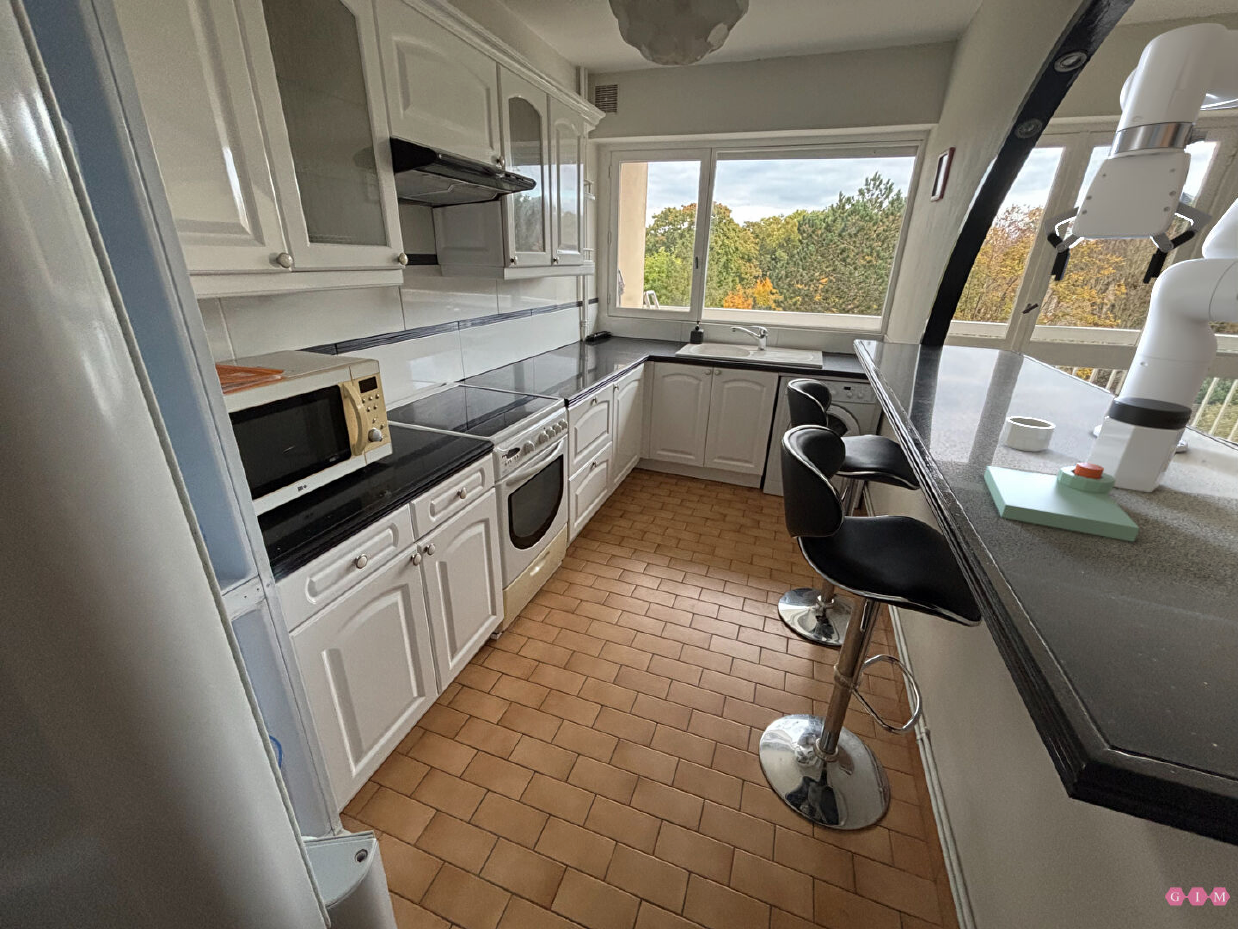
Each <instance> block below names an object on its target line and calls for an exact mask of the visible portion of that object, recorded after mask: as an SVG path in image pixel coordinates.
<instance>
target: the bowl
mask: <svg viewBox="0 0 1238 929" xmlns="http://www.w3.org/2000/svg"><path fill="white" fill-rule="evenodd" d="M1055 429H1056V425H1055V424H1054V423H1052V422H1049V421H1046V420H1043V419H1038V418H1032V417H1025V416H1009V417H1007V418H1006V419H1005V422H1004V425H1003V429H1002V432H1001V435H1000V438H999V440H1000V442H1002V443H1003V444H1004V445H1005V446H1006V447H1008V448H1011V449H1015V450H1019V451H1024V452H1032V453H1033V452H1037V453H1038V452H1042V451H1044V450H1047V449H1048V448H1049V446H1050V443H1051V440H1052V438H1053V435H1054V431H1055Z"/></svg>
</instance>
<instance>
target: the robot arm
mask: <svg viewBox="0 0 1238 929" xmlns="http://www.w3.org/2000/svg"><path fill="white" fill-rule="evenodd" d="M1119 104H1120V109H1121V111H1122V113H1121V116H1120V118H1119V122H1118V125H1117V127H1116V131H1115V134H1114V137H1113V139H1112V143H1111V146H1110V149H1109V152H1108V154H1107V158H1105V159H1103V160H1100V161H1099V163H1098V165H1097V167H1096V169H1095V170H1094V172H1093V175H1092V177H1091V179H1090V181H1089V183H1088V184H1087V187H1086V189H1085V192H1084V194H1083V196H1082V199H1081V202H1080V204H1079V206H1075V207H1074V208H1071V209H1069V210H1067V211H1064V212H1062V213H1059V214H1057V215H1054V216H1053V217H1051V218H1048V219H1046V220H1044V221H1043V223H1042V226H1043V229H1044V233H1045V235H1046V236H1045V237H1046V240H1047V241H1048V243H1049V244H1050V245H1051V246H1052V247H1053V249H1055V251H1056V252H1057V253H1056V256H1055V259H1054V263H1053V266H1052V268H1051V272H1050V276H1054V280H1053V282H1061V281H1063V279H1064V276H1065V274H1066V270H1067V267H1068V265H1069V262H1070V258H1071V255H1072V254H1071V253H1070V251H1071V248H1073V247H1074V246H1075V245H1077V244H1079V243H1080V242H1081V241H1082V240H1084V239H1085V240H1134V239H1135V240H1137V239H1140V240H1142V239H1151V240H1152V241H1153V243H1154V244H1155V245H1156V247H1157V248H1156V251H1155V252H1154V253H1153V254H1152V256H1151V258H1150V261H1149V264H1148V266H1147V269H1146V272H1145V274H1144V277H1143V278H1142V282H1141V283H1143V285H1149V284H1150V282H1151V279H1156V281H1155V283H1154V285H1153V288H1152V292H1151V298H1150V304H1149V311H1148V315H1147V319H1146V324H1145V326H1144V331H1143V332H1142V336H1141V338H1140V341H1139V344H1138V347H1137V348H1136V352H1135V355H1134V357H1133V359H1132V362H1131V365H1130V366H1129V370H1128V372H1127V375H1126V377H1125V379H1124V383H1123V385H1122V387H1121V390H1120V392H1119V395H1118V397H1117V398H1120V397H1133V398H1145V399H1153V400H1160V401H1165V402H1171V403H1175V404H1179V405H1183V406H1186V407H1188V408H1190V409H1192V408H1193V407H1194V406H1193V405H1194V404H1195V402H1196V399H1197V397H1198V394H1199V392H1200V390H1201V388H1202V386H1203V384H1204V381H1205V379H1206V378H1207V375H1208V373H1209V371H1210V369H1211V366H1212V364H1213V362H1214V360H1215V358H1216V356H1217V352H1218V346H1219V345H1218V340H1217V337H1216V335H1215V333H1214V330H1213V328H1212V327H1211V324H1210V322H1220V323H1221V322H1223V323H1235V324H1238V198H1237V199H1236V200H1235V201H1234V202H1233V203H1232V205H1231V206H1230V207H1229V208H1228V209H1227V211H1226V212H1225V213H1224V214H1223V215H1222V217H1221V218H1220V220H1219V221H1217V223H1216V225H1215V226H1214V227H1213V228H1212V229H1211V231H1210V232H1209V234H1208V235H1207V237H1206V238H1205V241H1204V243H1203V244H1202V256H1203V258H1196V259H1195V258H1194V259H1188V260H1184V261H1180V262H1178V263H1175V264H1172V265H1171V266H1169V267H1168V268H1167V269H1165V270H1163V272H1162V269H1163V267H1164V266H1165V263H1166V260H1167V257H1168V255H1169V253H1170V252H1172V251H1173V250H1175V249H1176V248H1179V247H1180V246H1182V245H1183V244H1185V243H1187V242H1189V241H1190V240H1192V239H1193V238H1194V237H1195V236H1197V234H1198V233H1199V232H1201V231H1202V230H1204V229H1205V227H1206V226H1207V225H1208V224H1209V223H1211V221H1212V220H1213V218H1214V216H1213V215H1212V214H1210V213H1208V212H1204V211H1203V210H1200V209H1198V208H1195V207H1193V206H1191V205H1188V204H1186V203H1184V202H1182V201H1181V199H1182V195H1183V193H1184V189H1185V186H1186V184H1187V179H1188V175H1189V171H1190V167H1191V160H1192V154H1191V153H1190V152H1186V149H1187V148H1190V147H1191V146H1192V145H1196V144H1200V143H1205V141H1206V138H1207V135H1208V133H1209V129H1204V130H1201V129H1197V127H1195V125H1196V123H1197V121H1198V118H1199V115H1200V113H1201V111H1204V110H1205V111H1206V110H1215V109H1225V108H1233V107H1234V108H1235V107H1238V29H1227V27H1226V26H1225V25H1224V24H1221V23H1218V22H1217V23H1216V22H1203V23H1202V22H1201V23H1195V24H1188V25H1185V26H1181V27H1177V28H1173V29H1171V30H1168V31H1166V32H1163V33H1161V34H1159V35H1157V36H1156V37H1154V38H1153V39H1151V40H1150V41H1149V43H1148V44H1146V46H1145V48H1144V49H1143V51H1142V53H1141V56H1140V58H1139V61H1138V64H1137V67H1135V68H1134V69H1133V70H1132V71H1131V73H1130V74H1129V75H1128V76H1127V78H1126V80H1125V81H1124V84H1123V86H1122V88H1121V92H1120V96H1119ZM1176 215H1177V216H1178V217H1181V218H1184V219H1185V220H1188V221H1190V222H1191V224H1190V226H1189V227H1188V228H1187V229H1186V230H1184V231H1183V232H1182V233H1180V234H1178V235H1177V236H1175V237H1174V238H1172V239H1170V238H1169V236H1168V235H1167V234H1166V233H1167V232H1168V231H1169V229H1170V228H1171V226H1172V223H1173V222H1174V220H1175V216H1176ZM1071 220H1073V225H1072V228H1071V234H1070V235H1069V236H1068V237H1066V238H1065V239H1063V238H1062V237H1061V236H1060V235H1059V232H1058V229H1057V228H1058V226H1060V225H1061V224H1064V223H1066V222H1069V221H1071ZM1161 272H1162V273H1161ZM1101 426H1102V425H1098V426H1096V427H1094V429H1093V432H1092V433H1093V435H1094V436H1095V437H1097V436H1098V433H1099V431H1100V428H1101ZM1188 446H1189V443H1188V442H1187V441H1186V440H1184V439H1183V438H1181V440H1180V442H1179V444H1178V446H1177V449H1176V452H1175V453H1181V452H1184V451H1186V450H1187V448H1188Z"/></svg>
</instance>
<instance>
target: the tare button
mask: <svg viewBox="0 0 1238 929" xmlns="http://www.w3.org/2000/svg"><path fill="white" fill-rule="evenodd" d="M1103 471H1104V468H1103V467H1101V466H1098V465H1095V464H1091V463H1087V462H1077V463H1076V468H1075V471H1074V474H1077V475H1079V476H1083V477H1087V478H1093V479H1100V478H1101V476H1102V473H1103Z"/></svg>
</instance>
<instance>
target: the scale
mask: <svg viewBox="0 0 1238 929" xmlns="http://www.w3.org/2000/svg"><path fill="white" fill-rule="evenodd" d="M1076 466H1077V465H1076ZM1076 466H1075V465H1073V466H1072V465H1071V466H1063V467H1060V468H1059V471H1058V474H1057V475H1051V474H1046V473H1039V472H1031V471H1025V470H1018V469H1017V470H1016V469H1012V468H1006V467H1005V468H1004V467H998V466H991V465H987V466H986V468H985V471H984V475H983V478H984V481H985V483H986V485H987V488H988V490H989V492H990V494H991V497H992V499H993V501H994V504H995V505H996V508H997V511H998V513H999V515H1000V518H1004V519H1009V520H1015V521H1019V522H1020V521H1021V522H1026V523H1031V524H1037V525H1042V526H1046V527H1047V526H1048V527H1053V528H1057V529H1063V530H1068V531H1075V532H1079V533H1085V534H1090V535H1096V536H1101V537H1107V538H1112V539H1117V540H1123V541H1129V542H1133V543H1134V542H1135V540H1136V539H1137V536H1138V533H1139V532H1140V529H1141V527H1139V525H1137V523H1135V521H1134V520H1133V519H1132V518H1131V517H1130V516H1129V515H1128V513H1127V512H1126V511H1125V510H1123V509H1122V508H1121V506H1120V505H1119V504H1118V502H1116V500H1114V499H1113V498H1112V497H1111V496H1110V495H1109V494H1108V493H1110V492H1112V490H1113V489H1114V487H1113V486H1114V484H1115V481H1116V480H1115V479H1114V478H1113V477H1112V476H1111V475H1108V474H1106V473H1102V476H1101V478H1100V479H1093V478H1087V477H1083V476H1079V475H1077V474H1074V471H1075V468H1076Z"/></svg>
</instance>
